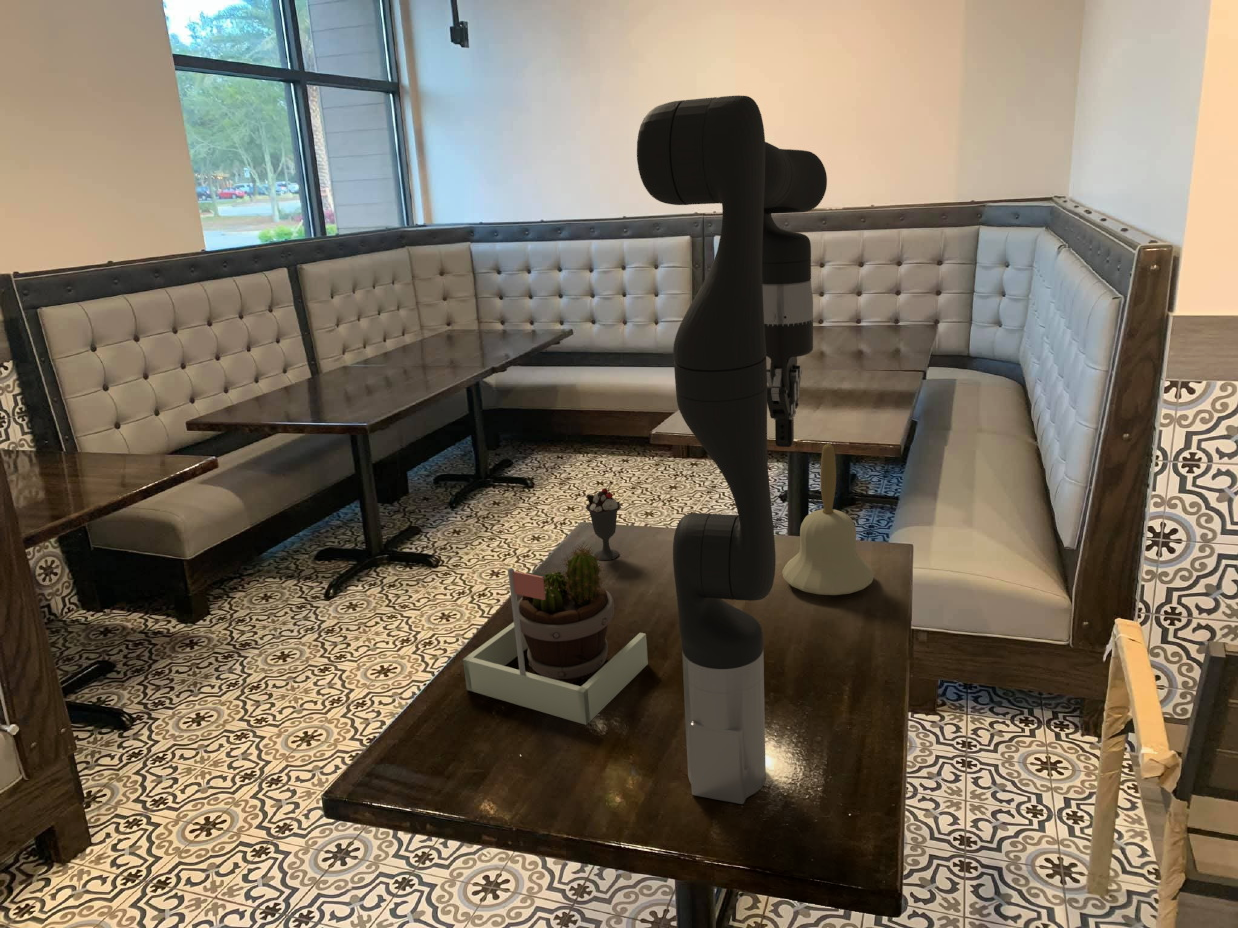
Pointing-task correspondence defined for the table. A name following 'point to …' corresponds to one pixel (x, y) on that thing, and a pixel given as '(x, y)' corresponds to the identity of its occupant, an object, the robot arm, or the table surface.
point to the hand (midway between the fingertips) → (784, 444)
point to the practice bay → (538, 691)
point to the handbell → (828, 545)
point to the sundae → (604, 520)
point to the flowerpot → (568, 621)
